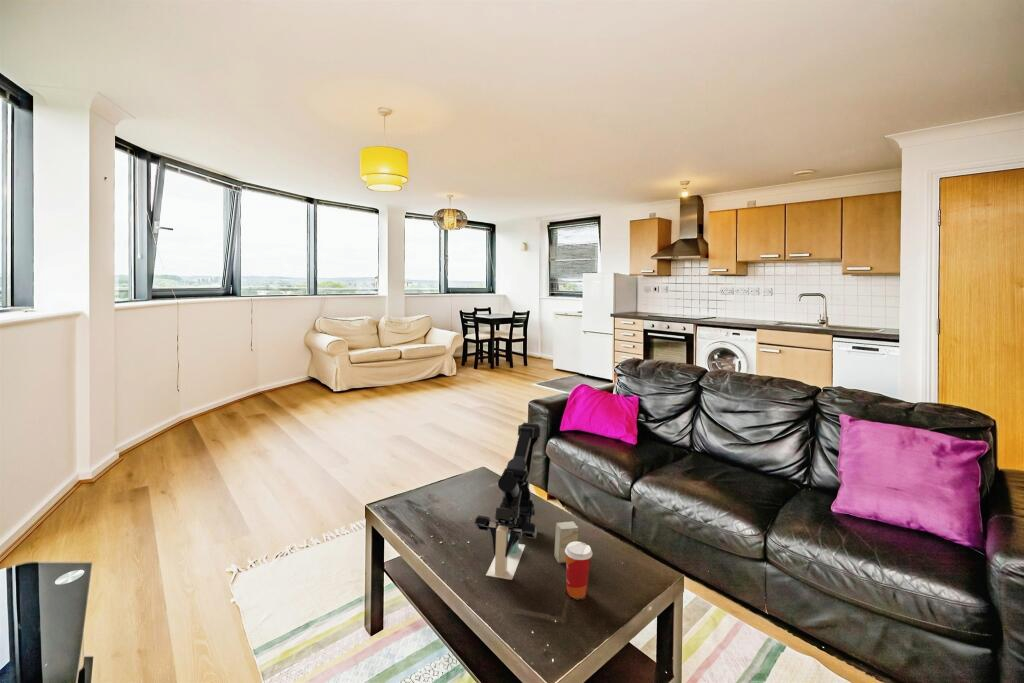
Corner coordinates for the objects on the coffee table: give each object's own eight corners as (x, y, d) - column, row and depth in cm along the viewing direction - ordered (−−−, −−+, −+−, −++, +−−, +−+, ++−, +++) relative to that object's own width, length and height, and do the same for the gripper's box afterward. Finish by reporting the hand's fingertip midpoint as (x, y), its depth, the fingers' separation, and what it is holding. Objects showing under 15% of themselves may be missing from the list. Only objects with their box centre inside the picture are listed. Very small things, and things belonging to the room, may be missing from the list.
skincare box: (558, 566, 146) (560, 529, 145) (553, 558, 151) (555, 522, 149) (577, 563, 148) (579, 527, 147) (571, 555, 152) (573, 520, 151)
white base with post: (502, 543, 158) (503, 501, 156) (525, 547, 156) (526, 504, 154) (485, 578, 139) (487, 530, 137) (511, 582, 137) (513, 534, 136)
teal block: (506, 545, 156) (506, 533, 155) (518, 547, 155) (518, 535, 154) (503, 551, 152) (504, 540, 151) (515, 553, 151) (516, 541, 150)
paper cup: (572, 581, 139) (574, 537, 137) (595, 593, 134) (597, 547, 132) (557, 594, 133) (559, 548, 131) (580, 606, 128) (583, 559, 126)
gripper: (477, 490, 144) (464, 543, 134) (536, 498, 140) (528, 553, 130) (483, 503, 152) (472, 553, 143) (540, 511, 148) (532, 564, 139)
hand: (500, 556), depth 139 cm, fingers closed on white base with post, 3 cm apart
